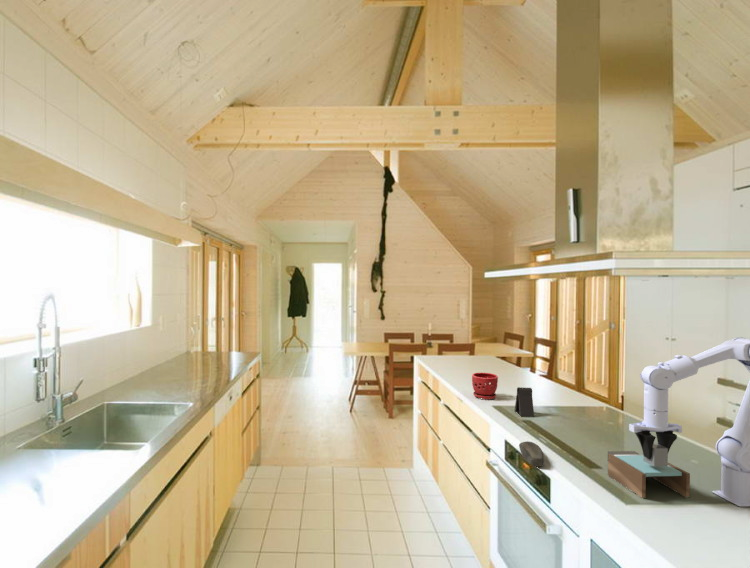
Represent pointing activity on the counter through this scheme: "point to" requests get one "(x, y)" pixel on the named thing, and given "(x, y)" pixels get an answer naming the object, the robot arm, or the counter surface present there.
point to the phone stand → (524, 402)
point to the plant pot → (484, 385)
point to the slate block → (658, 456)
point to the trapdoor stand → (637, 479)
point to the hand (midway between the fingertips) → (655, 457)
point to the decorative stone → (532, 453)
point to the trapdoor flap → (644, 464)
